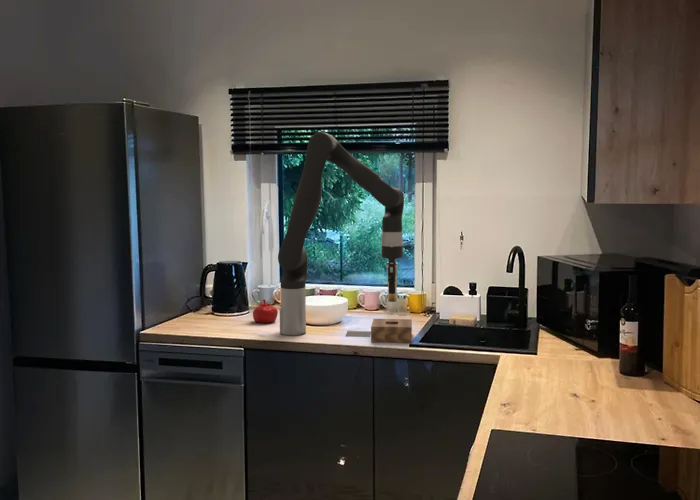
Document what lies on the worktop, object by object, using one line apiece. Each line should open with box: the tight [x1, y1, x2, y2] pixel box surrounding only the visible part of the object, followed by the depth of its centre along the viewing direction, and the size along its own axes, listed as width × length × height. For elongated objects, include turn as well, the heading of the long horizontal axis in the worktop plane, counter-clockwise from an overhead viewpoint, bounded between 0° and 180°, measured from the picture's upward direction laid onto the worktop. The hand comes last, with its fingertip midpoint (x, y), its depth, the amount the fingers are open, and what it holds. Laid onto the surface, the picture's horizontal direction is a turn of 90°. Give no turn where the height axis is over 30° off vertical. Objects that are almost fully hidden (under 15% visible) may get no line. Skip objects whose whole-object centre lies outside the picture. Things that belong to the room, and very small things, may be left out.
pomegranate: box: [252, 298, 279, 324], centre depth 270 cm, size 10×10×9 cm
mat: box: [344, 330, 371, 338], centre depth 246 cm, size 9×9×1 cm
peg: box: [387, 275, 398, 303], centre depth 237 cm, size 3×3×10 cm
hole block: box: [370, 318, 413, 344], centre depth 239 cm, size 14×14×6 cm
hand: (392, 292), depth 238 cm, fingers closed on peg, 3 cm apart
